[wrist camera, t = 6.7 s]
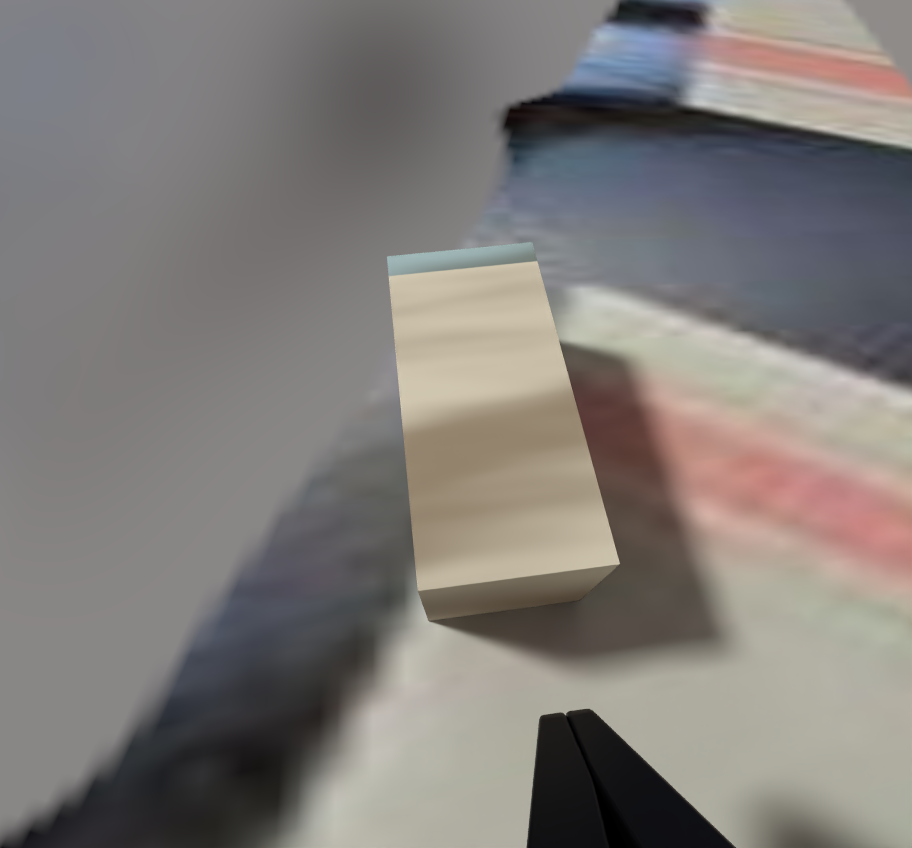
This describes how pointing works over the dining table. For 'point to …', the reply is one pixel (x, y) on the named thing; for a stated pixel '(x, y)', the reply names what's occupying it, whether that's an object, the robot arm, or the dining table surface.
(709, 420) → the dining table surface
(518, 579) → the beech block
